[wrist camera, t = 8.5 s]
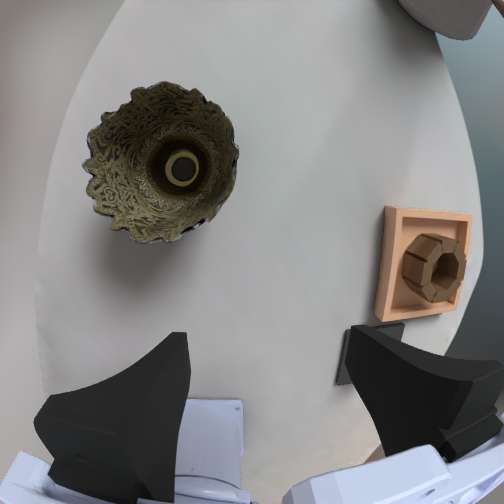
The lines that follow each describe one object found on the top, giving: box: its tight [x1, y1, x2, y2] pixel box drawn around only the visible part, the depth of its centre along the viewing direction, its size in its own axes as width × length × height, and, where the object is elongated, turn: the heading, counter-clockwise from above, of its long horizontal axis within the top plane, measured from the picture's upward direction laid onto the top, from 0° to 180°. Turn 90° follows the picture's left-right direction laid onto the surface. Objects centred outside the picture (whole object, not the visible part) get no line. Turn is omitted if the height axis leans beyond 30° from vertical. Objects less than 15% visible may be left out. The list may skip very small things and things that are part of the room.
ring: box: [401, 233, 467, 304], centre depth 20 cm, size 5×5×3 cm
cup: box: [82, 81, 239, 244], centre depth 15 cm, size 8×7×8 cm
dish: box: [373, 206, 472, 322], centre depth 21 cm, size 9×9×2 cm
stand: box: [336, 323, 405, 385], centre depth 21 cm, size 6×6×5 cm
